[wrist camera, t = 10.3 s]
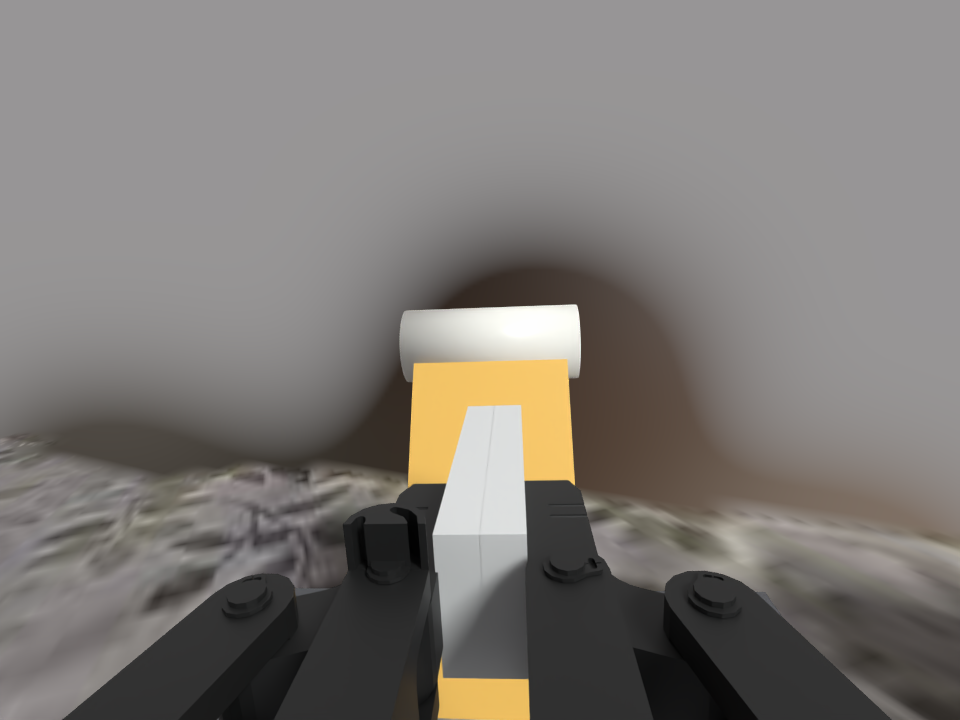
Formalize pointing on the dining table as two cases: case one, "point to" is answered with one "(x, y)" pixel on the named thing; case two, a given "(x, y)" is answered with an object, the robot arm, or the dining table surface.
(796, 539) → the dining table surface
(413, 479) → the lever
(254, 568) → the dining table surface
